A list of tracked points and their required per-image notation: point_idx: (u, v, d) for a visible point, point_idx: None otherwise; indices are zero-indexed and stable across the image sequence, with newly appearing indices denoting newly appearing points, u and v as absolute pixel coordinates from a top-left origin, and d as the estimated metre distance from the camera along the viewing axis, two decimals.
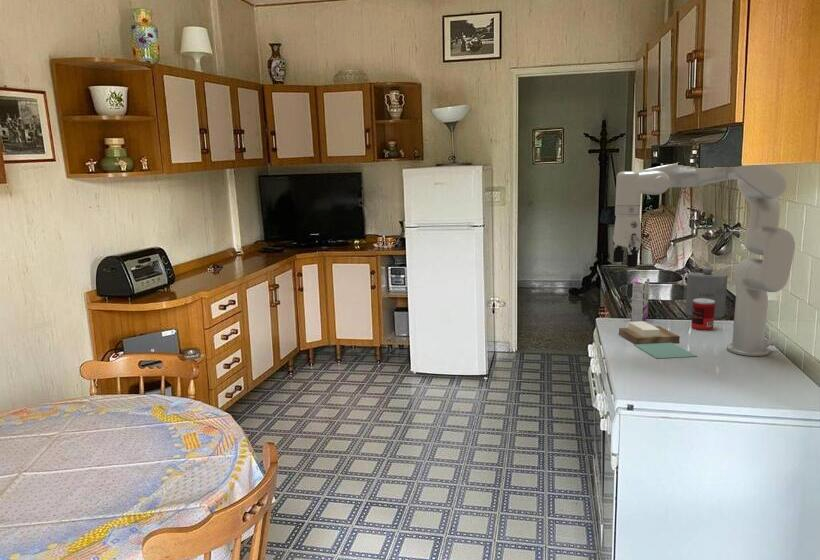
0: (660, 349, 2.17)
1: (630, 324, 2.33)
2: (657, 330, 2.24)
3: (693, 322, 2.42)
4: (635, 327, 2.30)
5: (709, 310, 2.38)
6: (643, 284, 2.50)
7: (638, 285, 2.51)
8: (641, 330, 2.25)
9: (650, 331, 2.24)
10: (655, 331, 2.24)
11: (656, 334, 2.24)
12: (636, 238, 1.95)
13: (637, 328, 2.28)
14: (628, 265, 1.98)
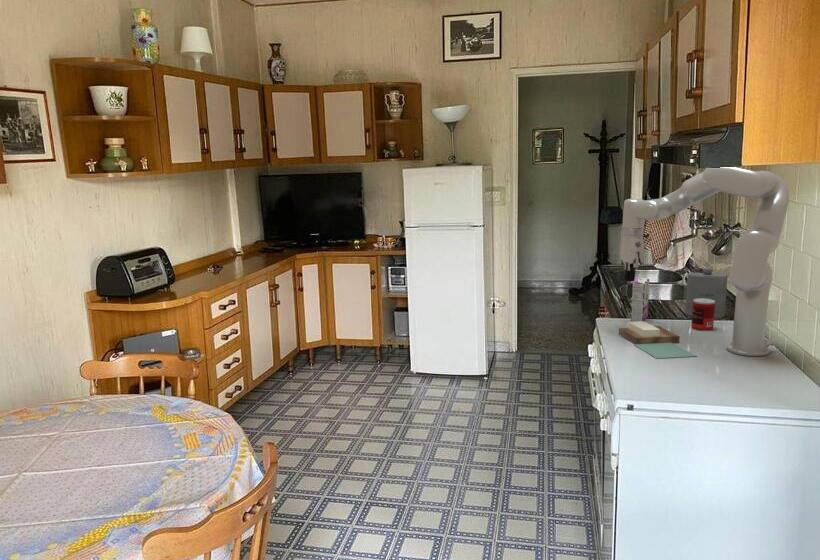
0: (660, 349, 2.17)
1: (630, 324, 2.33)
2: (657, 330, 2.24)
3: (693, 322, 2.42)
4: (635, 327, 2.30)
5: (709, 310, 2.38)
6: (643, 284, 2.50)
7: (638, 285, 2.51)
8: (641, 330, 2.25)
9: (650, 331, 2.24)
10: (655, 331, 2.24)
11: (656, 334, 2.24)
12: (636, 261, 2.33)
13: (637, 328, 2.28)
14: (627, 279, 2.38)
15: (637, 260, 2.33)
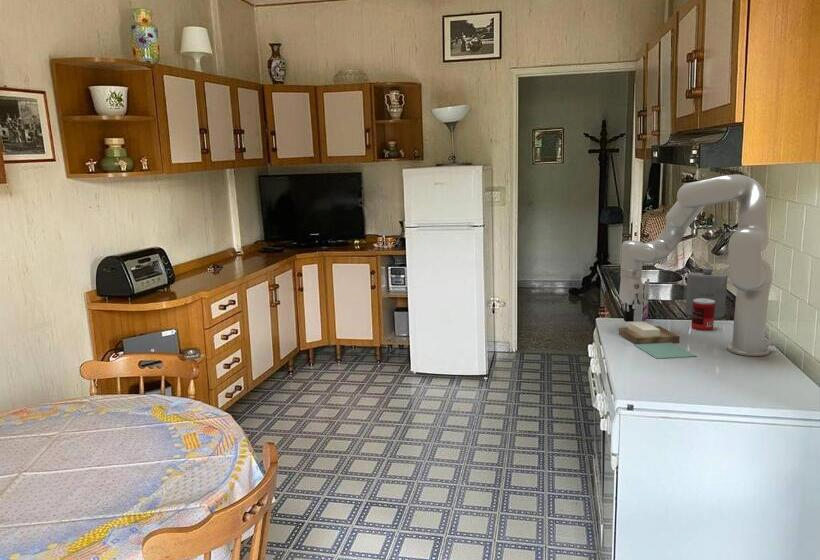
0: (660, 349, 2.17)
1: (630, 324, 2.33)
2: (657, 330, 2.24)
3: (693, 322, 2.42)
4: (635, 327, 2.30)
5: (709, 310, 2.38)
6: (643, 284, 2.50)
7: None
8: (641, 330, 2.25)
9: (650, 331, 2.24)
10: (655, 331, 2.24)
11: (656, 334, 2.24)
12: (635, 302, 2.35)
13: (637, 328, 2.28)
14: (626, 320, 2.40)
15: (636, 301, 2.35)
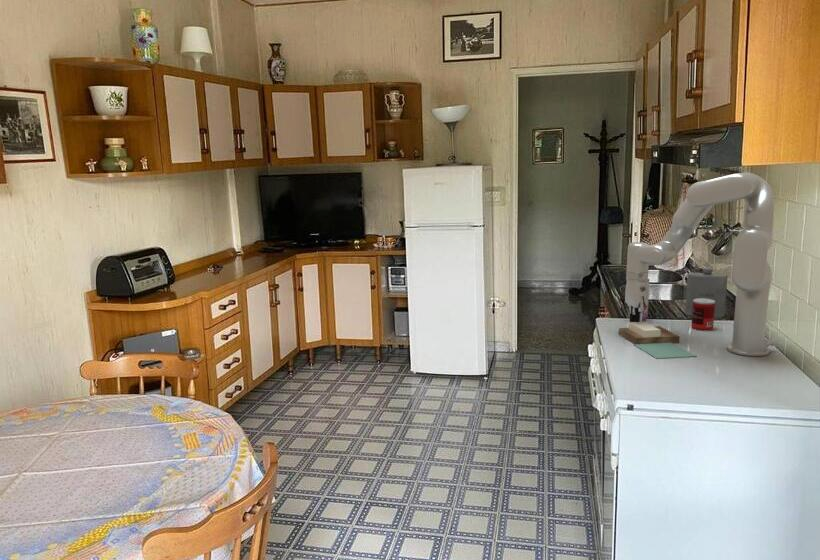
0: (660, 349, 2.17)
1: (631, 324, 2.33)
2: (658, 330, 2.23)
3: (693, 322, 2.42)
4: (636, 327, 2.29)
5: (709, 310, 2.38)
6: None
7: None
8: (642, 330, 2.25)
9: (651, 331, 2.23)
10: (656, 331, 2.23)
11: (657, 334, 2.24)
12: (641, 305, 2.30)
13: (638, 328, 2.27)
14: None
15: (642, 304, 2.30)
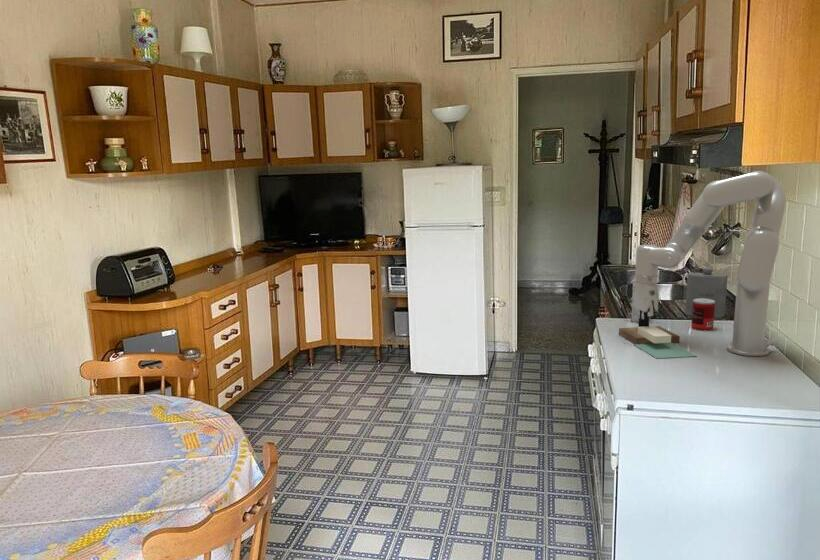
0: (660, 349, 2.17)
1: (640, 329, 2.26)
2: (668, 336, 2.17)
3: (693, 322, 2.42)
4: (645, 333, 2.22)
5: (709, 310, 2.38)
6: None
7: None
8: (652, 336, 2.18)
9: (661, 337, 2.16)
10: (666, 337, 2.17)
11: (667, 340, 2.17)
12: (651, 310, 2.23)
13: (647, 334, 2.21)
14: None
15: (651, 309, 2.24)
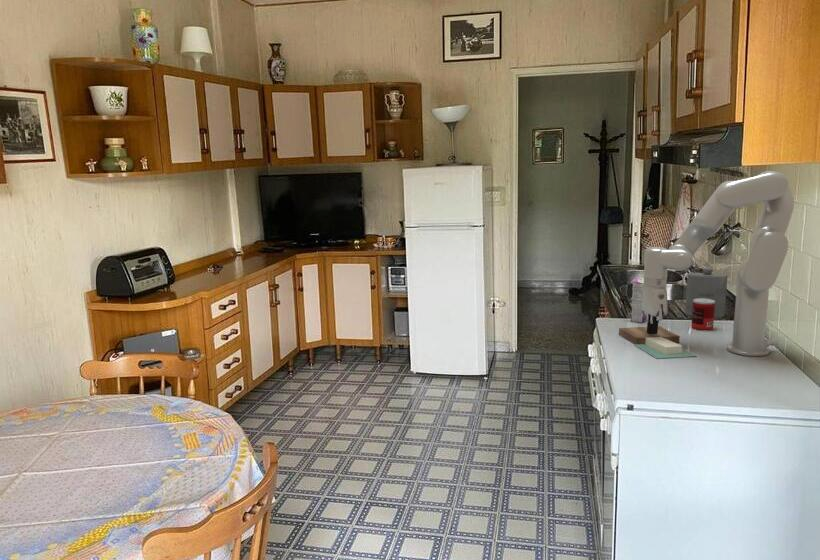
0: None
1: (648, 340, 2.20)
2: (679, 347, 2.11)
3: (693, 322, 2.42)
4: (655, 344, 2.17)
5: (709, 310, 2.38)
6: None
7: (639, 285, 2.51)
8: (662, 347, 2.12)
9: (672, 348, 2.11)
10: (677, 348, 2.11)
11: (678, 351, 2.12)
12: (660, 314, 2.17)
13: (657, 345, 2.15)
14: (649, 332, 2.23)
15: (660, 313, 2.17)
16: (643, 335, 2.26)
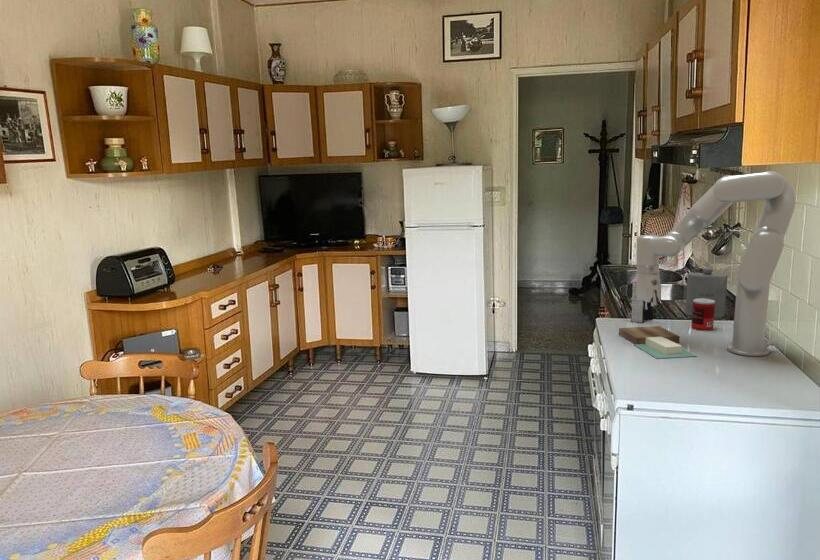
0: None
1: (648, 340, 2.20)
2: (679, 347, 2.11)
3: (693, 322, 2.42)
4: (655, 343, 2.16)
5: (709, 310, 2.38)
6: None
7: None
8: (663, 347, 2.12)
9: (672, 348, 2.11)
10: (677, 348, 2.11)
11: (678, 351, 2.12)
12: (654, 300, 2.22)
13: (657, 345, 2.15)
14: (645, 319, 2.28)
15: (654, 299, 2.22)
16: (643, 335, 2.26)
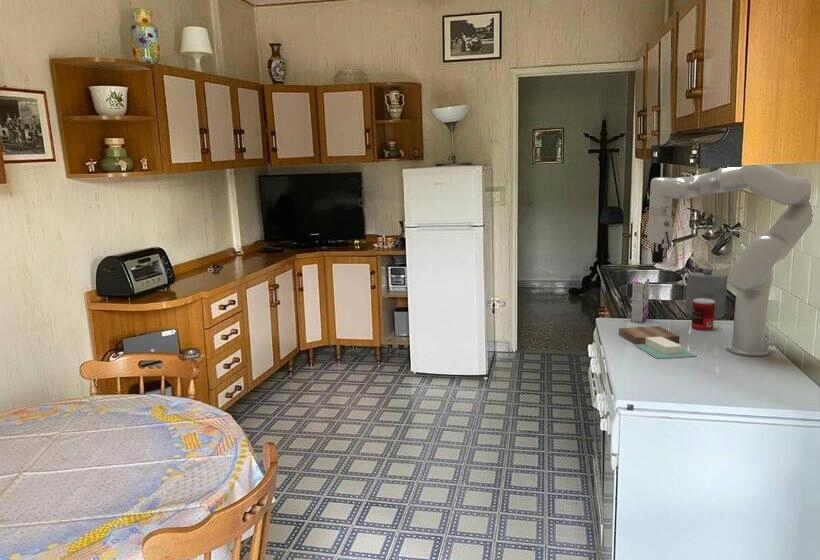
0: None
1: (648, 340, 2.20)
2: (679, 347, 2.11)
3: (693, 322, 2.42)
4: (655, 343, 2.16)
5: (709, 310, 2.38)
6: (643, 284, 2.50)
7: (638, 285, 2.51)
8: (663, 347, 2.12)
9: (672, 348, 2.11)
10: (677, 348, 2.11)
11: (678, 351, 2.12)
12: (665, 241, 2.26)
13: (657, 345, 2.15)
14: (655, 261, 2.31)
15: (665, 240, 2.26)
16: (643, 335, 2.26)
